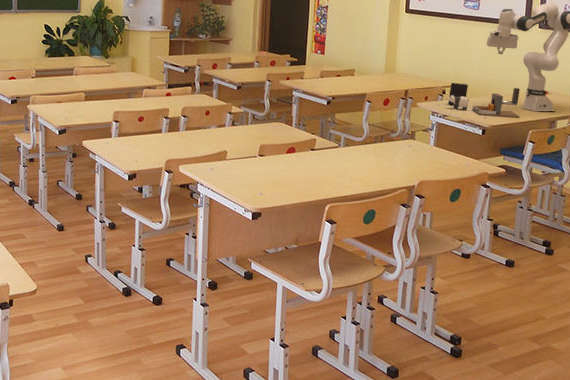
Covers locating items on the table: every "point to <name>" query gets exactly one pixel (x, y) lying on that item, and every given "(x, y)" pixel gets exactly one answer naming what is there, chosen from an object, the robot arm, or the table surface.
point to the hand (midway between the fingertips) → (500, 54)
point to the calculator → (458, 91)
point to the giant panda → (459, 102)
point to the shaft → (513, 98)
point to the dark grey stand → (497, 111)
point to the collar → (490, 107)
